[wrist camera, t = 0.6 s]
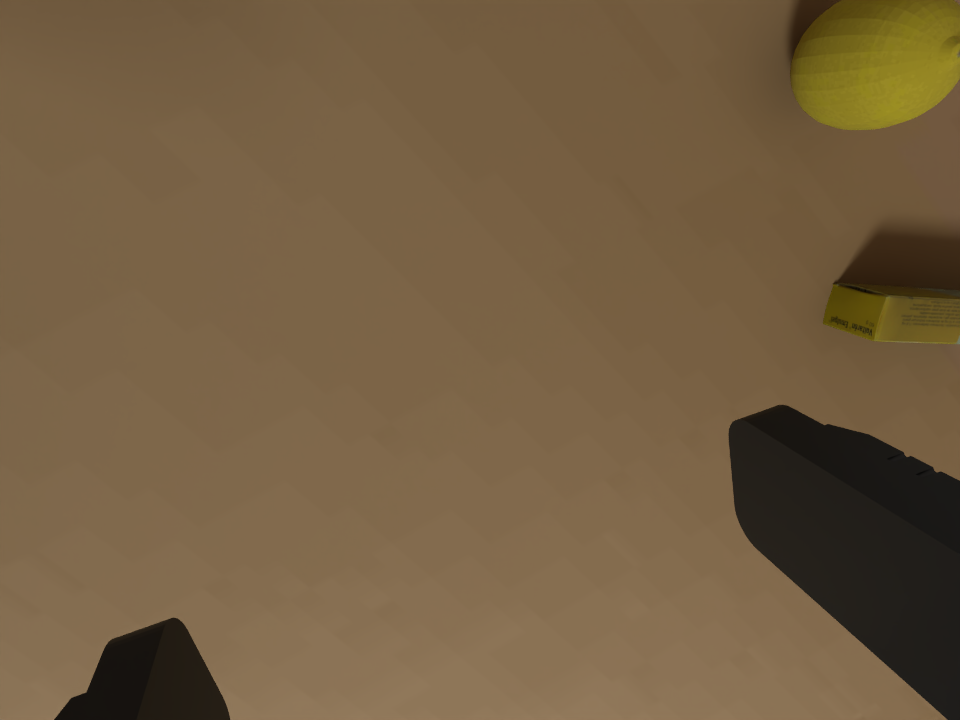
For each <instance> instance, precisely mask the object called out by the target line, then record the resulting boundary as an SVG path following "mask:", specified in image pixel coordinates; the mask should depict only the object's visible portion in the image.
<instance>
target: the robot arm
mask: <svg viewBox="0 0 960 720" xmlns="http://www.w3.org/2000/svg"><path fill="white" fill-rule="evenodd" d="M729 447H730V459H731V470H732V482H733V493H734V505H735V511H736V515H737V518H738V521H739V523H740V526H741V528H742V529H743V531H744V533H745V535H746V536H747V538H748V539H749V541H750V542H751V543H752V544H753V546H754V547H755V548H756V549H757V550H758V551H760V552H761V553H762V554H763V555H764V556H765V557H766V558H767V559H769V560H770V561H771V562H772V563H773V564H774V565H775V566H776V567H777V568H779V569H780V570H781V571H782V572H783V573H784V574H785V575H786V576H788V577H789V578H790V579H791V580H792V581H793V582H794V583H795V584H797V585H798V586H799V587H800V588H801V589H802V590H803V591H804V592H805V593H807V594H808V595H809V596H810V597H811V598H812V599H813V600H814V601H816V602H817V603H818V604H819V605H820V606H821V607H822V608H823V609H824V610H826V611H827V612H828V613H829V614H830V615H831V616H832V617H833V618H835V619H836V620H837V621H838V622H839V623H840V624H841V625H842V626H844V627H845V628H846V629H847V630H848V631H849V632H850V633H851V634H852V635H854V636H855V637H856V638H857V639H858V640H859V641H860V642H861V643H863V644H864V645H865V646H866V647H867V648H868V649H869V650H870V651H871V652H873V653H874V654H875V655H876V656H877V657H878V658H879V659H880V660H882V661H883V662H884V663H885V664H886V665H887V666H888V667H889V668H891V669H892V670H893V671H894V672H895V673H896V674H897V675H898V676H899V677H901V678H902V679H903V680H904V681H905V682H906V683H907V684H908V685H910V686H911V687H912V688H913V689H914V690H915V691H916V692H917V693H918V694H920V695H921V696H922V697H923V698H924V699H925V700H926V701H927V702H929V703H930V704H931V705H932V706H933V707H934V708H935V709H936V710H938V711H939V712H940V713H941V714H942V715H943V716H944V717H945V718H946V719H948V720H960V481H959V480H957V479H955V478H953V477H951V476H949V475H947V474H945V473H943V472H938V473H936V472H935V471H934V469H933V467H931V466H929V465H928V464H926V463H924V462H922V461H920V460H918V459H916V458H914V457H912V456H909V457H906V456H905V455H904V452H902V451H900V450H898V449H896V448H894V447H892V446H890V445H888V444H886V443H884V442H883V441H881V440H879V439H877V438H875V437H873V436H871V435H869V434H865V433H861V432H857V431H853V430H849V429H845V428H841V427H837V426H833V425H829V424H827V425H823V424H821V423H819V422H817V421H815V420H814V419H812V418H810V417H808V416H806V415H804V414H802V413H800V412H799V411H797V410H795V409H793V408H791V407H789V406H786V405H778V406H775V407H772V408H769V409H766V410H764V411H761V412H758V413H755V414H752V415H749V416H747V417H744V418H741V419H738V420H735V421H734V422H732V424H731V425H730V428H729ZM54 720H230V716H229V712H228V709H227V706H226V703H225V701H224V699H223V696H222V695H221V693H220V691H219V689H218V687H217V685H216V683H215V681H214V679H213V678H212V676H211V674H210V672H209V670H208V668H207V666H206V664H205V662H204V660H203V659H202V657H201V655H200V653H199V651H198V649H197V647H196V645H195V643H194V641H193V640H192V638H191V636H190V634H189V632H188V630H187V628H186V627H185V625H184V624H183V623H182V622H181V621H180V620H179V619H177V618H171V619H168V620H165V621H162V622H159V623H157V624H154V625H151V626H148V627H145V628H142V629H140V630H137V631H134V632H131V633H128V634H125V635H123V636H120V637H117V638H114V639H112V640H111V641H109V642H108V644H107V645H106V647H105V649H104V651H103V653H102V656H101V658H100V660H99V663H98V665H97V668H96V670H95V673H94V675H93V678H92V680H91V683H90V685H89V688H88V690H87V692H86V693H84V694H81V695H79V696H76V697H73V698H71V699H70V700H69V702H68V703H67V704H66V705H65V707H64V708H63V709H62V711H61V712H60V713H59V714H58V716H57V717H56V718H55V719H54Z"/></svg>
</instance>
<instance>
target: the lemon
mask: <svg viewBox="0 0 960 720" xmlns="http://www.w3.org/2000/svg"><path fill="white" fill-rule="evenodd" d="M790 78H791V86H792V89H793V93H794V96H795V99H796V100H797V102H798V103H799V105H800V106H801V108H802V109H803V110H804V111H805V112H806V113H807V114H808V115H810V116H811V117H812V118H814V119H815V120H816V121H818V122H820V123H823V124H826V125H829V126H832V127H835V128H839V129H844V130H872V129H879V128H884V127H888V126H892V125H895V124H898V123H902V122H905V121H908V120H910V119H913V118H915V117H917V116H920V115H921V114H923V113H925V112H926V111H928V110H929V109H931V108H932V107H934V106H935V105H937V104H938V103H939V102H940V101H941V100H942V99H943V98H944V97H945V96H946V95H947V94H948V93H949V92H950V91H951V90H952V89H953V87H954V86H955V85H956V83H957V82H958V80H959V79H960V6H959V4H958V3H957V2H955V1H954V0H841V1H839V2H837V3H836V4H834V5H832V6H831V7H830V8H829V9H827V10H826V11H825V12H824V13H822V14H821V15H820V16H819V17H818V18H816V19H815V20H814V22H813V23H812V24H811V25H810V26H809V28H808V29H807V30H806V31H805V33H804V34H803V36H802V37H801V39H800V41H799V43H798V45H797V47H796V49H795V52H794V55H793V59H792V62H791V71H790Z"/></svg>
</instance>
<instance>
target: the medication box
mask: <svg viewBox="0 0 960 720" xmlns="http://www.w3.org/2000/svg"><path fill="white" fill-rule="evenodd" d="M823 324H825V325H828V326H831V327H833V328H836V329H839V330H842V331H845V332H848V333H851V334H854V335H857V336H860V337H862V338H865V339H868V340H871V341H880V342H908V343H938V344H960V290H947V289H933V288H915V287H901V286H886V285H870V284H854V283H836V284H833V288H832V291H831V294H830V297H829V300H828V303H827V306H826V311H825V315H824V320H823Z"/></svg>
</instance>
